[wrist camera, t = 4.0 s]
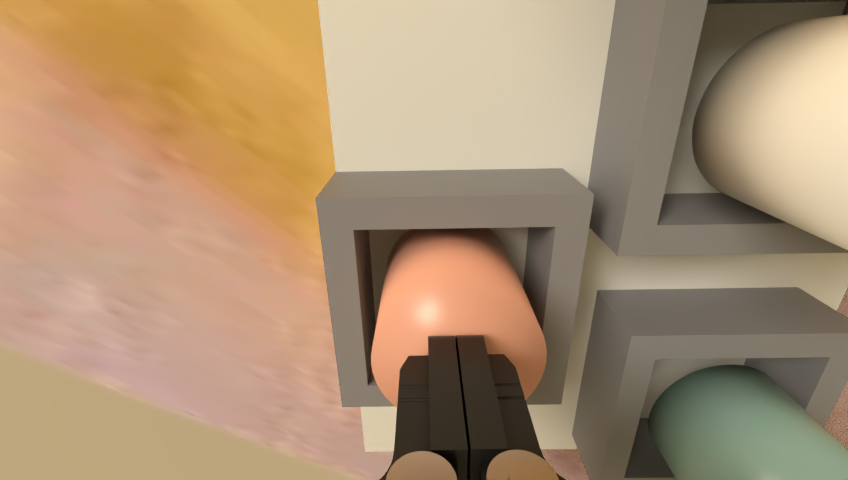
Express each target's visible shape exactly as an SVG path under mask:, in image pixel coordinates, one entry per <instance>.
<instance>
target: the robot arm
mask: <svg viewBox="0 0 848 480" xmlns="http://www.w3.org/2000/svg"><path fill="white" fill-rule="evenodd" d="M380 480H565V479H564V478H562V477H561V476H559V475H558V474H557V473H556V472H555V471H554V469H553V468H552V467H551V466H550V465H549V463H548V462H546V460H545V459H544V457H543V455H542V452H541V449H540V446H539V443H538V439H537V436H536V433H535V429H534V426H533V423H532V419H531V416H530V413H529V409H528V406H527V403H526V400H525V396H524V393H523V390H522V386H521V383H520V380H519V376H518V373H517V370H516V367H515V366H514V365H513V364H512V363H511V361H510V360H509V359H508V358H507V357H506V356H505V355H504V354H488V353H487V349H486V344H485V340H484V336H483V335H456V344H455V336H428V355H419V356H408V358H407V359H406V361H405V362H404V364H403V365H402V367H401V368H400V374H399V388H398V402H397V416H396V430H395V444H394V455H393V460H392V463H391V465H390V467H389V469H388V471H387V472H386V473H385V475H384V476H383V477H382V478H381V479H380Z"/></svg>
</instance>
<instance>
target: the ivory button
mask: <svg viewBox="0 0 848 480" xmlns="http://www.w3.org/2000/svg"><path fill="white" fill-rule="evenodd" d="M692 148H693V154H694V158H695V162H696V164H697V167H698V169H699V171H700V172H701V174H702V176H703V177H704V178H705V180H706V181H707V182H708V183H709V184H710V185H711V186H713V187H714V188H715V189H717V190H718V191H720V192H722V193H724V194H725V195H728V196H730V197H732V198H734V199H736V200H739V201H741V202H743V203H745V204H747V205H749V206H752V207H754V208H756V209H758V210H760V211H763V212H765V213H767V214H769V215H771V216H774V217H776V218H778V219H780V220H782V221H785V222H787V223H789V224H791V225H793V226H795V227H798V228H800V229H802V230H804V231H806V232H809V233H811V234H813V235H815V236H817V237H820V238H822V239H824V240H826V241H828V242H831V243H833V244H835V245H837V246H839V247H841V248H844V249H846V250H848V15H841V16H831V17H821V18H811V19H801V20H796V21H792V22H788V23H785V24H782V25H779V26H776V27H774V28H772V29H770V30H768V31H766V32H764V33H762V34H760V35H759V36H757V37H755V38H754V39H752V40H751V41H749V42H748V43H747V44H745V45H744V46H743V47H741V48H740V49H739V50H738V51H737V52H736V53H734V54H733V55H732V56H731V57H730V58H729V59H728V60H727V61H726V62H725V64H724V65H723V66H722V67H721V68H720V69H719V71H718V72H717V73H716V75H715V76H714V78H713V79H712V80H711V82H710V83H709V85H708V87H707V89H706V90H705V92H704V94H703V96H702V98H701V101H700V103H699V105H698V108H697V111H696V115H695V118H694V123H693V129H692Z"/></svg>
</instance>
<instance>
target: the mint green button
mask: <svg viewBox="0 0 848 480" xmlns="http://www.w3.org/2000/svg"><path fill="white" fill-rule="evenodd" d="M648 428H649V433H650V435H651V438H652V439H653V441H654V443H655V444H656V446H657V448H658V449H659V451H660V453H661V454H662V456H663V458H664V459H665V461H666V463H667V464H668V466H669V468H670V469H671V471H672V473H673V474H674V476H675V478H676V480H848V450H847V449H846V448H845V447H844V446H843V445H842V444H841V443H840V442H839V441H838V440H837V439H835V438H834V437H833V436H832V435H831V434H830V433H829V432H828V431H827V430H826V429H825V428H824V427H822V426H821V425H820V424H819V423H818V422H817V421H816V420H815V419H814V418H813V417H812V416H811V415H810V414H808V413H807V412H806V411H805V410H804V409H803V408H802V407H801V406H800V405H799V404H798V403H797V402H796V401H794V400H793V399H792V398H791V397H790V396H789V395H788V394H787V393H786V392H785V391H784V390H783V389H782V388H780V387H779V386H778V385H777V384H776V383H775V382H774V381H773V380H772V379H771V378H770V377H769V376H767V375H766V374H765V373H763V372H762V371H760V370H758V369H755V368H752V367H749V366H744V365H735V364H727V365H717V366H711V367H707V368H704V369H701V370H698V371H695V372H693V373H690V374H688V375H686V376H684V377H683V378H681V379H679V380H678V381H676V382H675V383H673V384H672V385H671V386H669V387H668V388H667V389H666V390H665V391H664V392H663V393H662V394H661V395H660V396H659V398H658V399H657V400H656V402H655V403H654V405H653V407H652V409H651V412H650V414H649V419H648Z"/></svg>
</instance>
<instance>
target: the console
mask: <svg viewBox="0 0 848 480" xmlns="http://www.w3.org/2000/svg"><path fill="white" fill-rule="evenodd" d="M318 5H319V15H320V24H321V34H322V43H323V53H324V63H325V72H326V82H327V91H328V101H329V111H330V120H331V130H332V139H333V149H334V158H335V168H336V172H335V174H334V175H333V176H332V178H331V179H330V180H329V182H328V183H327V184H326V185H325V187H324V188H323V189H322V191H321V192H320V193H319V195H318V196H317V197H316V205H317V213H318V221H319V228H320V236H321V244H322V252H323V260H324V267H325V275H326V283H327V291H328V299H329V306H330V314H331V322H332V330H333V338H334V346H335V353H336V361H337V369H338V377H339V385H340V392H341V400H342V407H361V417H362V427H363V436H364V446H365V452H372V451H394V444H395V430H396V416H397V408H396V407H395V406H394V405H393V404H392V403H391V402H390V401H389V400H388V399H387V398H386V397H385V396H384V395H383V393H382V392H381V390H380V389H379V387H378V385H377V383H376V381H375V378H374V375H373V372H372V366H371V352H372V346H373V340H374V334H375V329H376V323H377V317H378V312H379V306H380V301H381V295H382V289H383V284H384V278H385V272H386V267H387V261H388V258H389V255H390V253H391V250H392V248H393V247H394V245H395V244H396V242H397V241H398V240H399V238H400V237H401V236H402V235H403V234H404V233H406V232H407V231H408V230H409V229H448V228H489V229H490V230H492V231H493V232H494V233H495V234H496V235H497V236H498V237H499V238H500V239H501V241H502V242H503V244H504V245H505V247H506V249H507V251H508V254H509V256H510V258H511V261H512V263H513V265H514V268H515V270H516V272H517V275H518V277H519V279H520V282H521V284H522V286H523V288H524V291H525V293H526V295H527V298H528V300H529V302H530V305H531V307H532V309H533V312H534V314H535V316H536V319H537V321H538V323H539V326H540V328H541V330H542V333H543V335H544V339H545V342H546V350H547V358H546V365H545V370H544V373H543V375H542V378H541V380H540V382H539V384H538V386H537V387H536V389H535V390H534V391H533V393H532V394H531V395H530V396H529V397H528V398H527V399H526V403H527V406H528V409H529V413H530V416H531V419H532V423H533V426H534V429H535V433H536V436H537V439H538V443H539V446H540V449H578V451H579V454H580V456H581V459H582V462H583V464H584V467H585V469H586V472H587V474H588V477H589V479H590V480H676V478H675V476H674V474H673V473H672V471H671V469H670V468H669V466H668V464H667V463H666V461H665V459H664V458H663V456H662V454H661V453H660V451H659V449H658V448H657V446H656V444H655V443H654V441H653V439H652V438H651V435H650V433H649V428H648V419H649V414H650V412H651V409H652V407H653V405H654V403H655V402H656V400H657V399H658V398H659V396H660V395H661V394H662V393H663V392H664V391H665V390H666V389H667V388H668V387H669V386H671V385H672V384H673V383H675V382H676V381H678V380H679V379H681V378H683V377H684V376H686V375H688V374H690V373H693V372H695V371H698V370H701V369H704V368H707V367H711V366H717V365H727V364H735V365H744V366H749V367H752V368H755V369H758V370H760V371H762V372H763V373H765V374H766V375H767V376H769V377H770V378H771V379H772V380H773V381H774V382H775V383H776V384H777V385H778V386H779V387H780V388H782V389H783V390H784V391H785V392H786V393H787V394H788V395H789V396H790V397H791V398H792V399H793V400H794V401H796V402H797V403H798V404H799V405H800V406H801V407H802V408H803V409H804V410H805V411H806V412H807V413H808V414H810V415H811V416H812V417H813V418H814V419H815V420H816V421H817V422H818V423H819V424H820V425H821V426H822V427H824V426H825V424H826V422H827V420H828V418H829V416H830V414H831V412H832V410H833V408H834V406H835V404H836V402H837V400H838V398H839V396H840V394H841V392H842V390H843V388H844V386H845V385H846V383H847V381H848V318H847V317H845V316H844V315H842V314H840V313H839V312H837V309H838V307H839V305H840V303H841V301H842V298H843V296H844V294H845V292H846V290H847V288H848V250H846V249H844V248H841V247H839V246H837V245H835V244H833V243H831V242H828V241H826V240H824V239H822V238H820V237H817V236H815V235H813V234H811V233H809V232H806V231H804V230H802V229H800V228H798V227H795V226H793V225H791V224H789V223H787V222H785V221H782V220H780V219H778V218H776V217H774V216H771V215H769V214H767V213H765V212H763V211H760V210H758V209H756V208H754V207H752V206H749V205H747V204H745V203H743V202H741V201H739V200H736V199H734V198H732V197H730V196H728V195H725V194H724V193H722V192H720V191H718V190H717V189H715V188H714V187H713V186H711V185H710V184H709V183H708V182H707V181H706V180H705V178H704V177H703V176H702V174H701V172H700V171H699V169H698V167H697V164H696V162H695V158H694V154H693V148H692V129H693V123H694V118H695V115H696V111H697V108H698V105H699V103H700V101H701V98H702V96H703V94H704V92H705V90H706V89H707V87H708V85H709V83H710V82H711V80H712V79H713V78H714V76H715V75H716V73H717V72H718V71H719V69H720V68H721V67H722V66H723V65H724V64H725V62H726V61H727V60H728V59H729V58H730V57H731V56H732V55H733V54H734V53H736V52H737V51H738V50H739V49H740V48H741V47H743V46H744V45H745V44H747V43H748V42H749V41H751V40H752V39H754V38H755V37H757V36H759V35H760V34H762V33H764V32H766V31H768V30H770V29H772V28H774V27H776V26H779V25H782V24H785V23H788V22H792V21H796V20H801V19H811V18H821V17H831V16H841V15H848V0H318Z"/></svg>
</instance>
